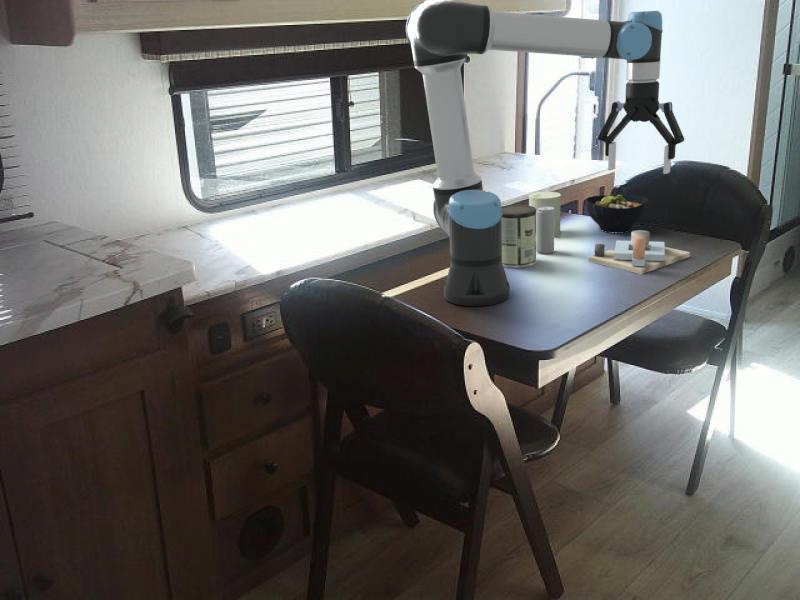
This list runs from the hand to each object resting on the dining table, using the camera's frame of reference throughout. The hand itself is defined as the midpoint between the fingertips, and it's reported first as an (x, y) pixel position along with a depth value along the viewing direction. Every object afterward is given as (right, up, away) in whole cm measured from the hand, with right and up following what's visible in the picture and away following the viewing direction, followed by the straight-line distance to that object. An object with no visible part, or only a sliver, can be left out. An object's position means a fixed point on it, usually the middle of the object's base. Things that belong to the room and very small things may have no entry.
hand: (638, 171), depth 193 cm
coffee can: (-28, -22, +13) cm, 38 cm away
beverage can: (-19, -19, +20) cm, 33 cm away
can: (-16, -12, +38) cm, 43 cm away
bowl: (+5, -11, +39) cm, 40 cm away
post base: (+3, -21, +10) cm, 23 cm away
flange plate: (+2, -20, +7) cm, 22 cm away
